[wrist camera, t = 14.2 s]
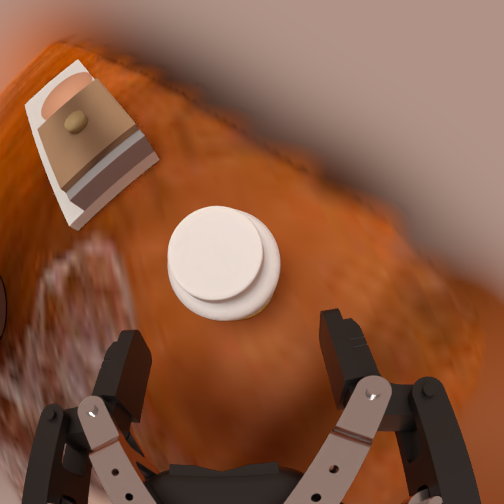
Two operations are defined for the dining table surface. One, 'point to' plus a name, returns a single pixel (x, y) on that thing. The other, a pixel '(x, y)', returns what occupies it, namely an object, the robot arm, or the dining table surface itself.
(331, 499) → the robot arm
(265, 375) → the dining table surface
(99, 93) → the cover
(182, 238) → the supplement bottle
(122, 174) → the board
